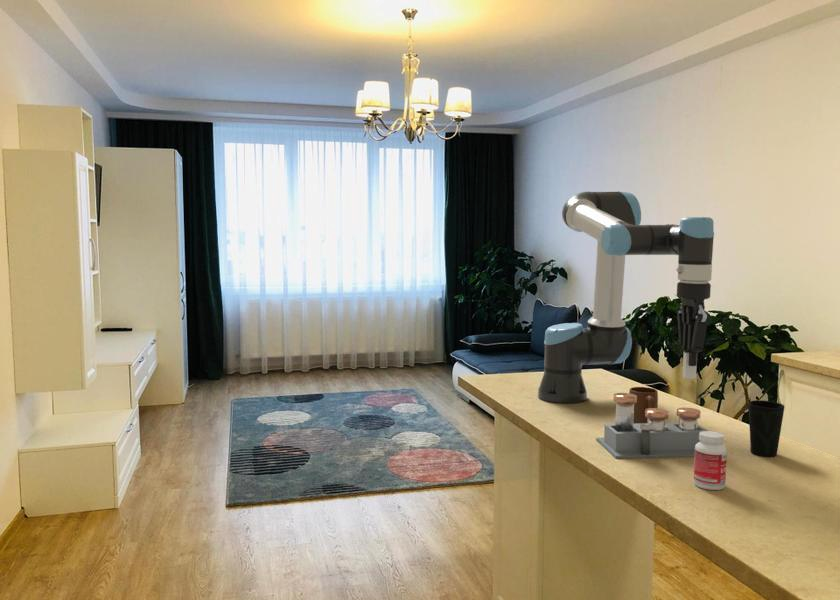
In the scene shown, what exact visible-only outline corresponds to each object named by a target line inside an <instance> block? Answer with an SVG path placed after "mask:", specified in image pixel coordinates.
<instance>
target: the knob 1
mask: <svg viewBox="0 0 840 600" xmlns="http://www.w3.org/2000/svg"><path fill="white" fill-rule="evenodd" d="M613 402H614V403H615V423H614V424H615V429H616V430H618V431H622V432H631V431H633V422H634V403H637V396H636V395H634V394H630V393H629V392H615V393H614V394H613Z"/></svg>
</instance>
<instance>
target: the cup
mask: <svg viewBox="0 0 840 600" xmlns="http://www.w3.org/2000/svg"><path fill="white" fill-rule="evenodd" d="M747 405H748V422H749V423H748V425H749V444H750V445H749V446H750V453H751V454H752V455H754V456H757V457H762V458H775V456H776V457H777V455H778V450H779V443H780V437H781V430H782V425H783V419H784V411H785V405H784V404H782V403H781V402H776V401H770V400H762V399H761V400H751V401H748V403H747Z"/></svg>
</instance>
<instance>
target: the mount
mask: <svg viewBox="0 0 840 600" xmlns="http://www.w3.org/2000/svg"><path fill="white" fill-rule="evenodd" d="M641 424H647V423H638V424H633V431H631V432H622V431H618V430H616V429H615V423H604V433H603V434H604V436H603V437H596V439H595V440H596V442H597V443H598V444H600V445H601V446H602V447H603V448H604V449H605V450H606V451H607V452H608V453H609V454H611V456H612V457H614V459H640V458H641V459H644V458H645V459H646V458H647V459H648V458H653V459H654V458H685V457H686V458H688V457H689V458H691V457H692V458H693V457H694V458H695V445H696V444H697V443H698V442H700V440H699V433H700V432H702V431H709V430H708V429H706V428H705V427H703V426H701V425H699V424H698V423H697V430H681V429H679V422H666V425H665V431H650V454H649V455H643V454H641V429H640V425H641Z"/></svg>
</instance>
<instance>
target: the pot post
mask: <svg viewBox="0 0 840 600" xmlns="http://www.w3.org/2000/svg"><path fill="white" fill-rule="evenodd" d="M640 429H641V454H643V455H649V454H650V430H652V425H649V424H641V425H640Z"/></svg>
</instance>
